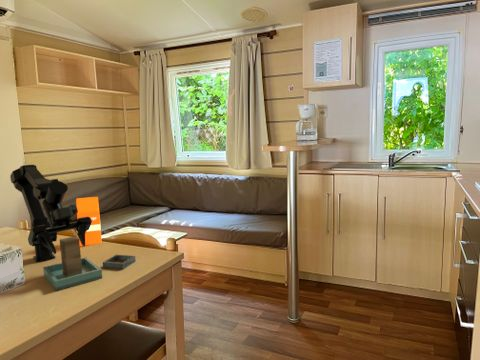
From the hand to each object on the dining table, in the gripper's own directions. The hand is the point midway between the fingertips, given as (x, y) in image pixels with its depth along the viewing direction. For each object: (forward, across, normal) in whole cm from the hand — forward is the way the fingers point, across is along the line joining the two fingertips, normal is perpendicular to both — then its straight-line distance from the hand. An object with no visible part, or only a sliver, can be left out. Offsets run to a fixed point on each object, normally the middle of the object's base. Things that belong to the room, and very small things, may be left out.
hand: (70, 249), depth 116 cm
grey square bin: (+8, +16, +6) cm, 19 cm away
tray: (+7, 0, +7) cm, 10 cm away
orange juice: (-16, +21, +30) cm, 40 cm away
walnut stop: (+6, 0, +6) cm, 9 cm away
